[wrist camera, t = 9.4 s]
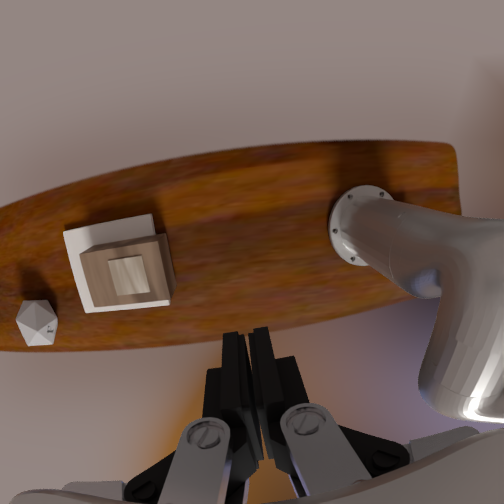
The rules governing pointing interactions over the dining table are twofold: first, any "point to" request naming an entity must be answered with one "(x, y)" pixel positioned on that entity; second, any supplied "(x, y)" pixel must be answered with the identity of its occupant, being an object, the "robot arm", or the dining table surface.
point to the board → (101, 234)
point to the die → (37, 322)
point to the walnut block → (129, 271)
